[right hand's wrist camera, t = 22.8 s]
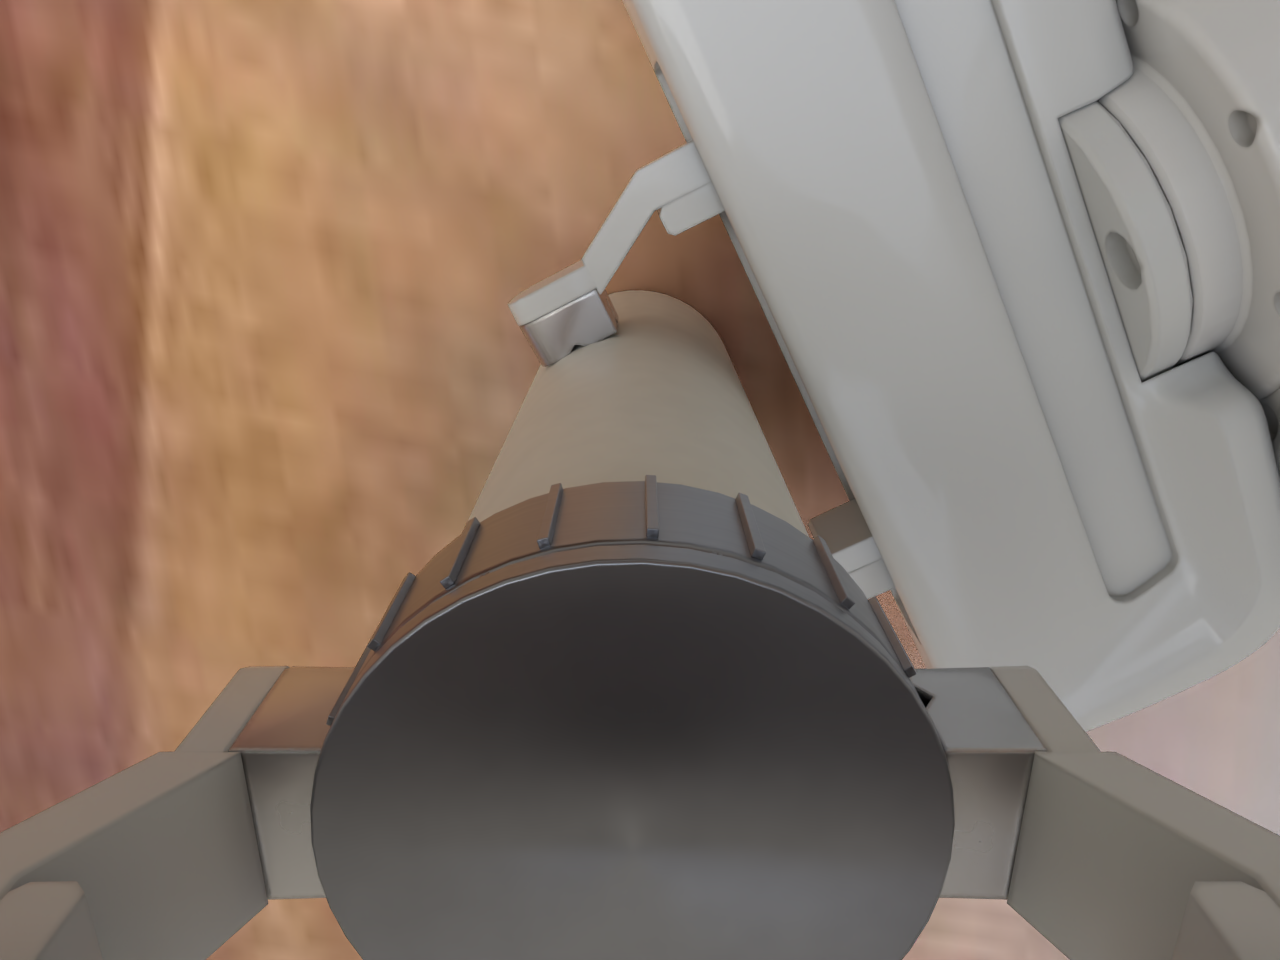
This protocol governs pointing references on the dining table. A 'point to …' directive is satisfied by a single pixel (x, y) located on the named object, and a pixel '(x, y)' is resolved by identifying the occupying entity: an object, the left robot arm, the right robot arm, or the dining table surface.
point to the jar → (640, 416)
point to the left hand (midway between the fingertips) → (601, 467)
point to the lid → (632, 747)
